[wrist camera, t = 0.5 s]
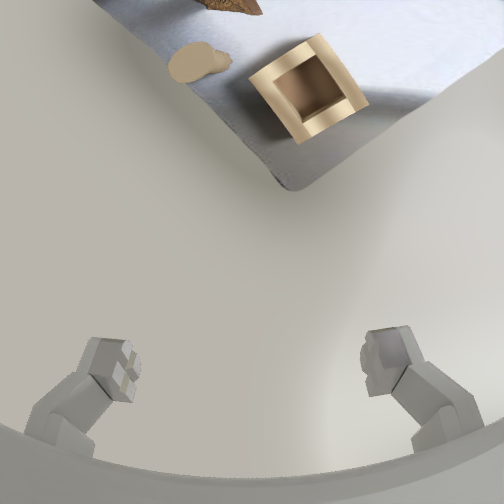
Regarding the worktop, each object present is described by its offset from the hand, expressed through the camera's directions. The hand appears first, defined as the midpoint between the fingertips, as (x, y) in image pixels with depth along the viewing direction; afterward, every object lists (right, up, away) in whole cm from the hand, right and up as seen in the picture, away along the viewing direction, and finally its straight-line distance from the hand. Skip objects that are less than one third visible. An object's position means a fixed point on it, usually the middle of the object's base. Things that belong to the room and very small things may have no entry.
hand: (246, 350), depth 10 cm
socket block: (+10, +30, +33) cm, 46 cm away
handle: (-4, +35, +33) cm, 49 cm away
